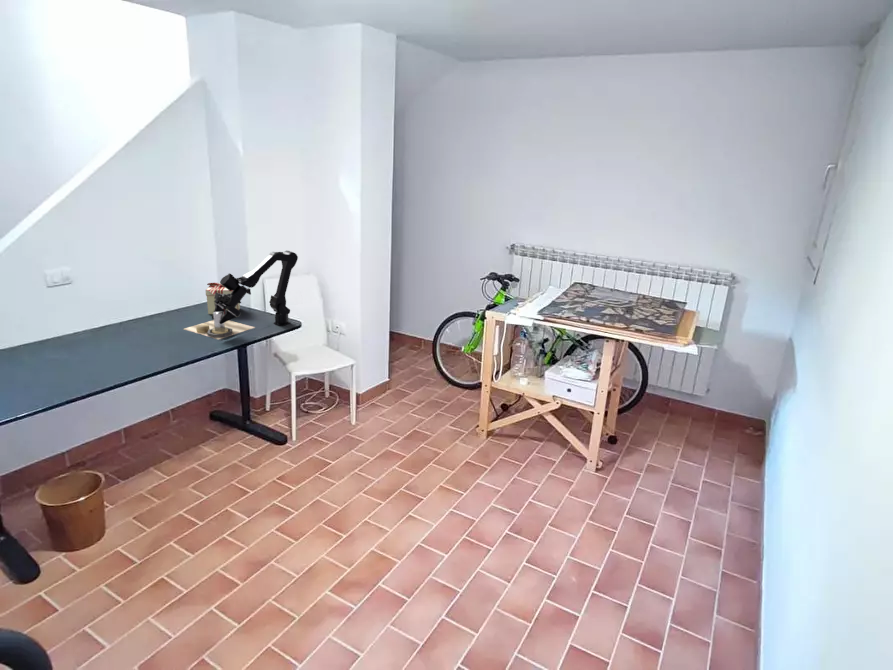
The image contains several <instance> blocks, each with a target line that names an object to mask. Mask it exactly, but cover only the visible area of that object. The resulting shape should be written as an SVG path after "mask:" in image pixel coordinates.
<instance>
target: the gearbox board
mask: <svg viewBox="0 0 893 670" xmlns="http://www.w3.org/2000/svg"><path fill="white" fill-rule="evenodd" d="M225 328H228V332H227V333H224V334H213V333H212V329H215V327H214V319H212V320H209V321H205V322H202V323H198V324H195V325H192V326H188V327H185V328H184V330H185V331H188V332H192V333H195V334H197V335H198V334H199V335H202V336H206V337H209V338H213V339H214V340H219V341H220V342H221V341H223V340H226V339H228V337H229V339H230V338H233V337H237V336H238V335H239V336H240V335H242V334H244V333H248V332H249V331H250V332H251V331H253V330H255V328H256V326H251V325H248V324H244V323H240V322H236V321H233V320H231V319H230V320H228V321H226V322H225ZM252 329H253V330H252ZM246 331H247V332H246ZM243 332H244V333H243ZM237 334H238V335H237ZM233 335H236V336H233ZM231 336H233V337H231Z"/></svg>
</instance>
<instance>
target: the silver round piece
mask: <svg viewBox="0 0 893 670" xmlns="http://www.w3.org/2000/svg"><path fill="white" fill-rule="evenodd" d="M212 316H214V319H213V320H214V327H215V329H212V333H213V334H224V333H227V332H228V328H225V322H224V323H222V324H220V323H219V322H220V321H221V319H222V317H223V316H224V312H223V311H216V312H213V314H212Z"/></svg>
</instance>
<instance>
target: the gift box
mask: <svg viewBox="0 0 893 670" xmlns="http://www.w3.org/2000/svg"><path fill="white" fill-rule="evenodd" d="M207 286H208V287H207V288H206V289H205V296H206V302H207V304H206V305H207V315H213V312H214V310H215V304H216V303H215V302H214V301H215V299H214V297H215V294H216V292H217V293H220V294H231V293H232V291H233V290H231V291H229V290H228V289H227V288H225V287H224V286H223V285H221V284H220V282H209V283H207ZM214 303H215V304H214ZM235 308H236V309H238V310H239V311H240V309H241V303H238V304H237V306H236V307H235ZM224 310H225V309H224ZM226 310H227V309H226ZM224 314H225V312H224Z"/></svg>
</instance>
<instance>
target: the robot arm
mask: <svg viewBox="0 0 893 670" xmlns="http://www.w3.org/2000/svg"><path fill="white" fill-rule="evenodd" d="M298 259H299V256H298V254H297V253H296V252H293V251H290V250H285V251H271V252H270V253H269V254H268V255H267V257H265V258H264V259H263V260H262V261H261V262H260V263H259V264H258V265H256V267H254V268H253V269H252V270H250V271H247V272H246V273H244V274H243V275H242V276H240V277H234V275H233V274H231V273H227V274H226V275H224V276H223V277H222V278H221V279H220V282H219V283H220V284H221V285H223V286H224V287H225V288H227V289H228V290H229V291H231V290H233V291H232V293H231V294H220V293H217V292H216V294H215V297H214V299H215V301H214V302H215V303H216V304H215V303H214V304H215V310H214V312H216V311H223V312H225V314H224V316H223V317H222V319H221V321H220V322H219V323H220V324H222V323H224V322H226V321H228V320H230V321H231V320H233V319H235V318H238V317H240V316H241V311H240V309H239V310H238V309H236V308H235V307H236V306H237V304H238V303H240V304H242V301H241V300H242V299H243V298H244V297H245V296H246V294H248V295H252V293H251V288H254V287H255V286H256V285H257V284H258V282H259V281H260V278H261V277H262V275H263V274H265V273H266V272H267V271H268V270H269V269H270V268H271V267H272V266H273V265H274V264H275V263H276V262H277V261H281V267H282V268H281V272H280V275H279V280H278V282H277V283H278V284H277V288H276V292H275V294H273V295H270V300H269V306H270V308H271V309H272V310H273V312H275V313H274V315H275V316H274V322H273V324H274V325H278V326H281V327H282V326H287V325H289V324H291V321H289V314H290V313H291V309H290V308H288V307H287V299H286V293H287V290H288V285H289V282H290V278H291V273H292V269H294V267H295V266H296V264H297V261H298ZM224 309H225V310H224ZM226 309H227V310H226ZM211 319H212V320H214V316H213V315H212V316H211Z"/></svg>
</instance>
